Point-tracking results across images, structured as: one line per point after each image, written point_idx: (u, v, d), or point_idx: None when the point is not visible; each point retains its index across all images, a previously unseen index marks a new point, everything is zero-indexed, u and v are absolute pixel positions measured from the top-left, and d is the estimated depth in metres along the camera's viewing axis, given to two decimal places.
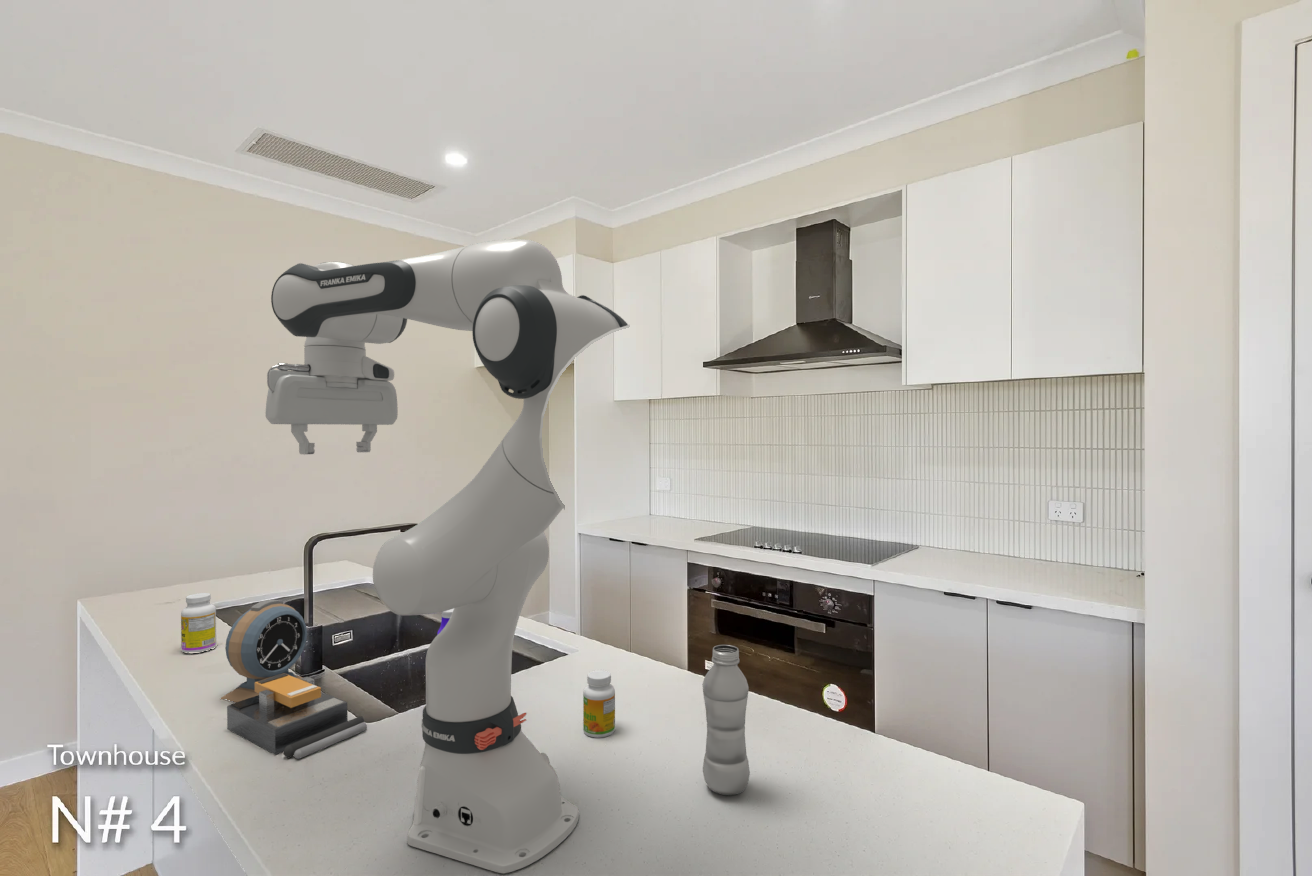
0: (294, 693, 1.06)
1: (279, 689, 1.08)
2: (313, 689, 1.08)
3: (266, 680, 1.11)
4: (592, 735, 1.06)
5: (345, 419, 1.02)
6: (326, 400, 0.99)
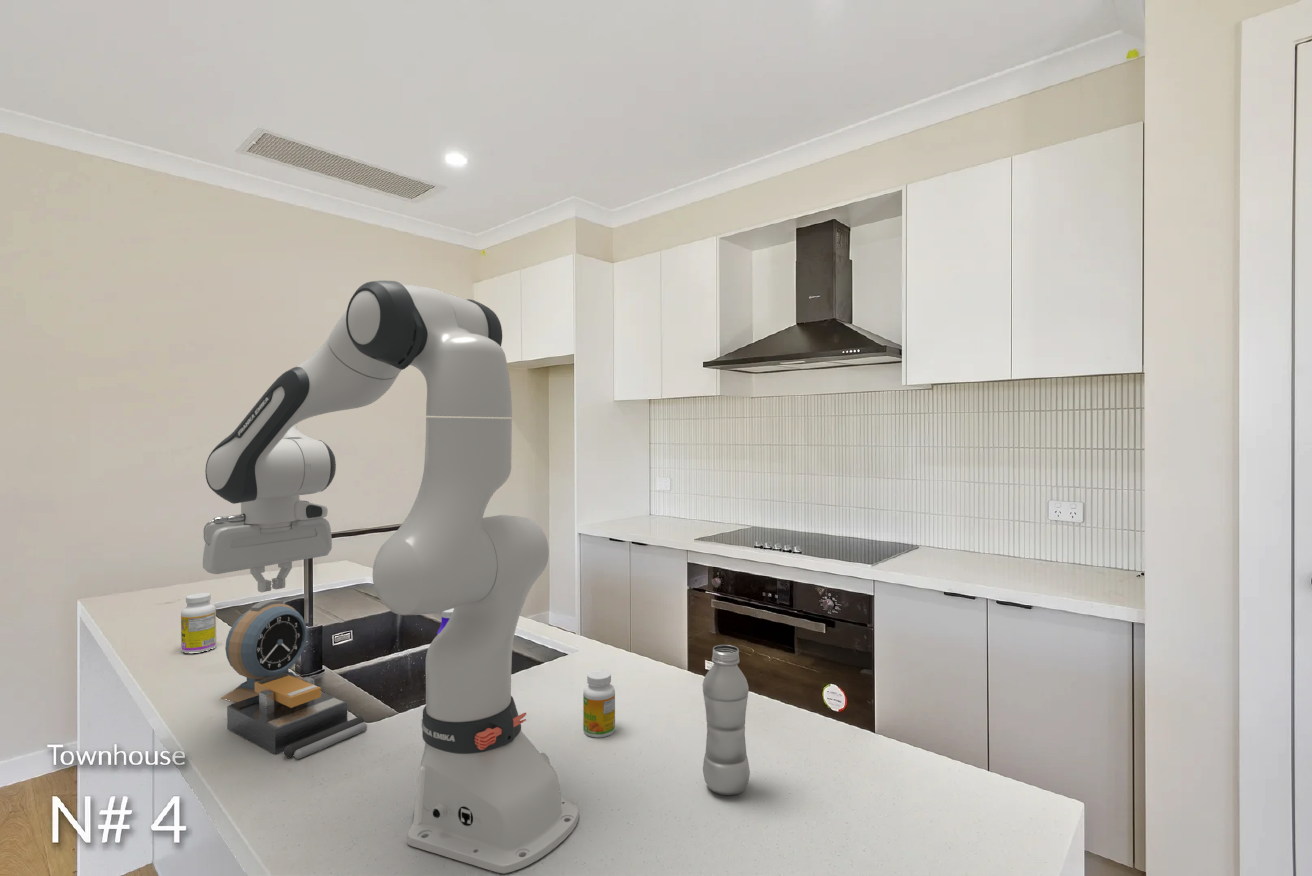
0: (294, 693, 1.06)
1: (279, 689, 1.08)
2: (313, 689, 1.08)
3: (266, 680, 1.11)
4: (592, 735, 1.06)
5: (279, 559, 1.12)
6: (260, 545, 1.09)
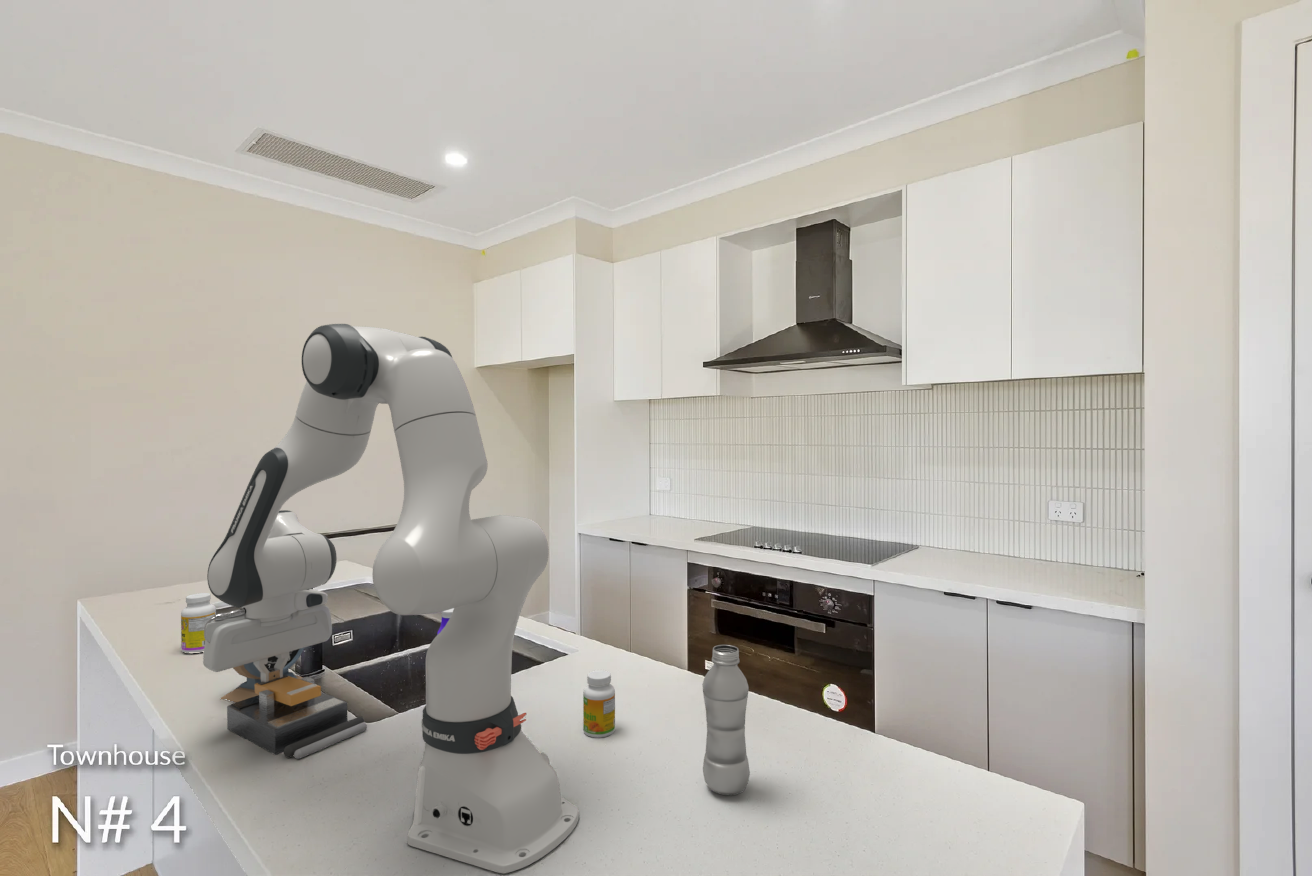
0: (294, 692, 1.06)
1: (279, 689, 1.08)
2: (313, 687, 1.08)
3: None
4: (592, 735, 1.06)
5: (279, 650, 1.12)
6: (261, 639, 1.09)
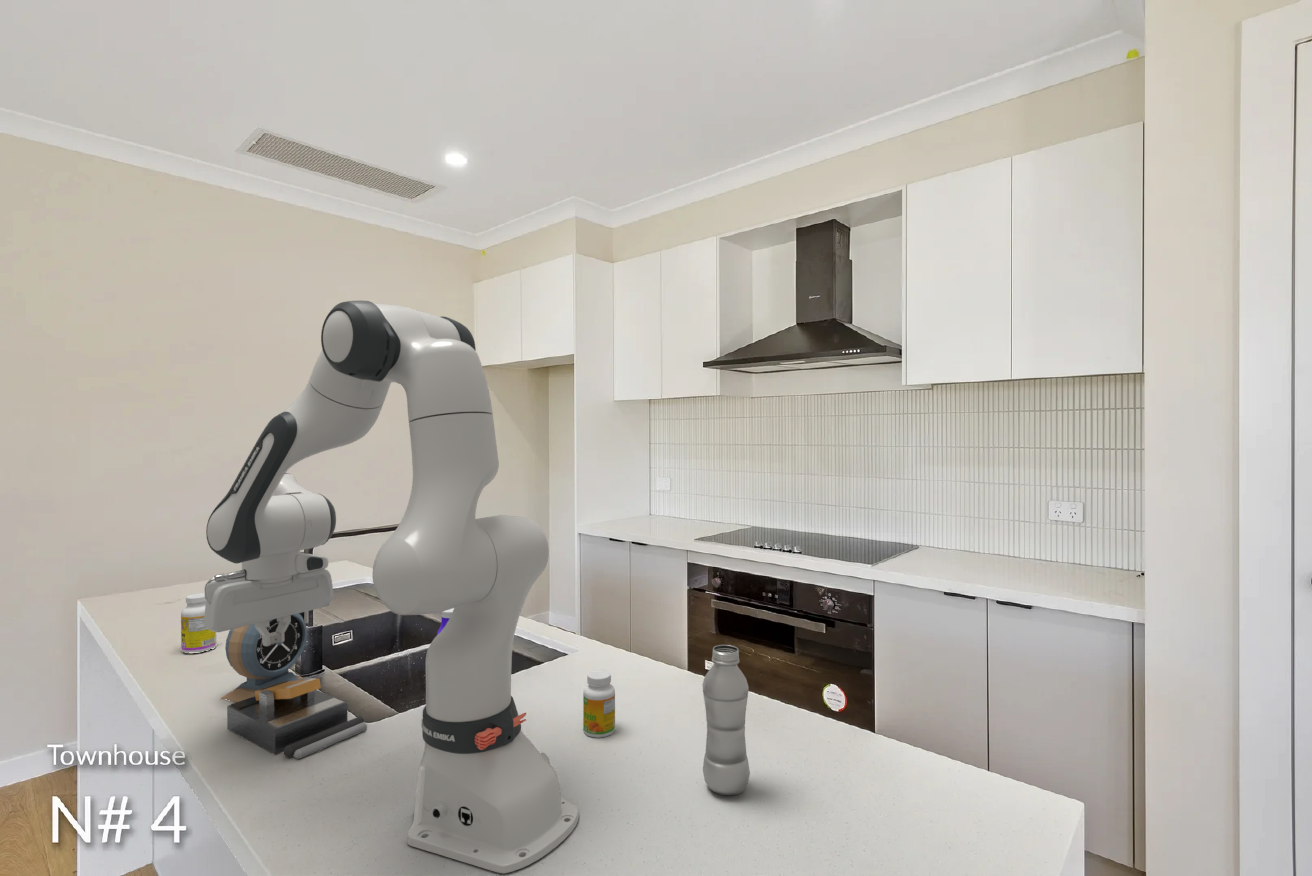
0: (293, 685, 1.06)
1: (278, 688, 1.08)
2: (312, 680, 1.08)
3: (266, 687, 1.11)
4: (592, 735, 1.06)
5: (281, 613, 1.12)
6: (261, 600, 1.09)
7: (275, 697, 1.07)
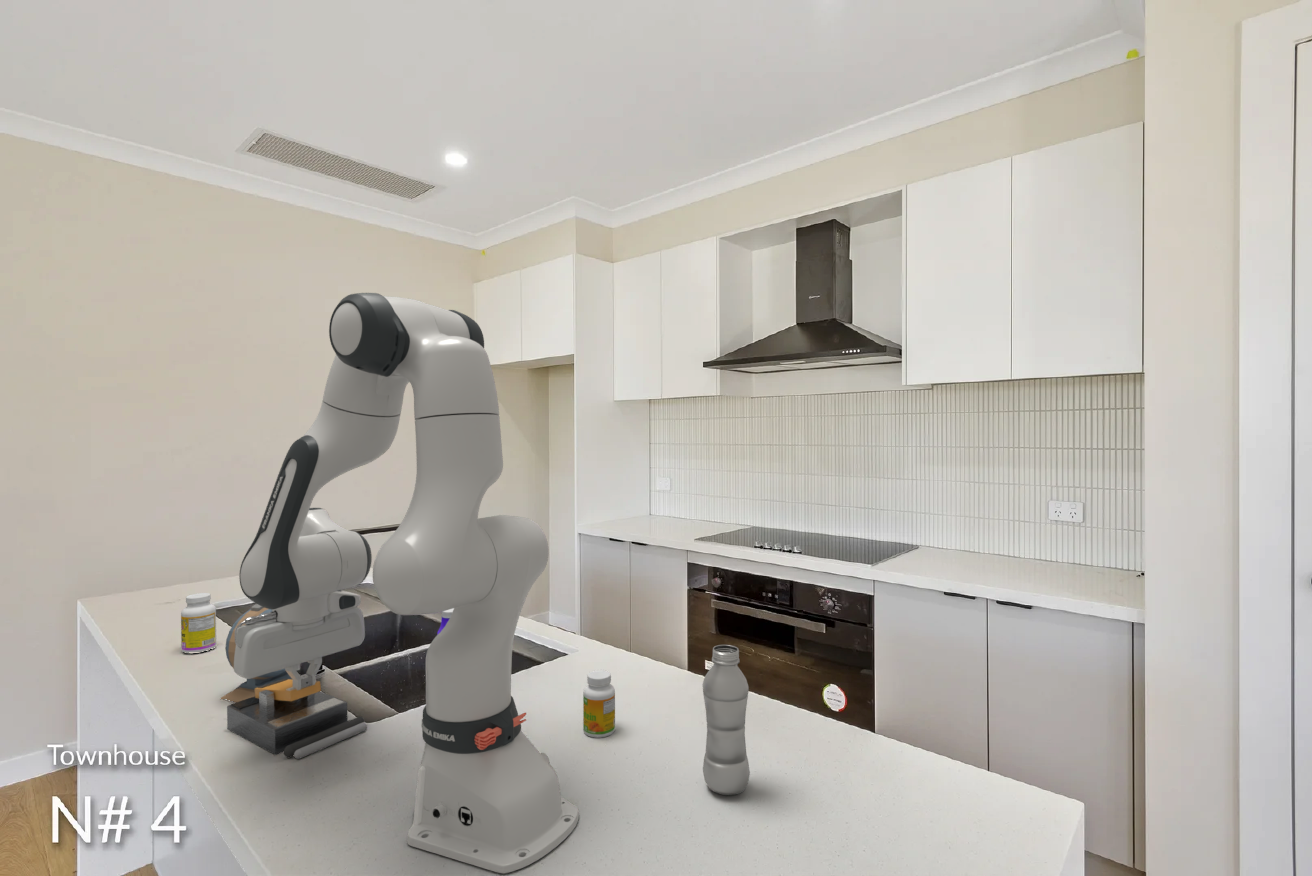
0: None
1: (278, 688, 1.08)
2: None
3: (266, 685, 1.11)
4: (592, 735, 1.06)
5: (312, 655, 1.06)
6: (293, 643, 1.04)
7: (275, 697, 1.07)
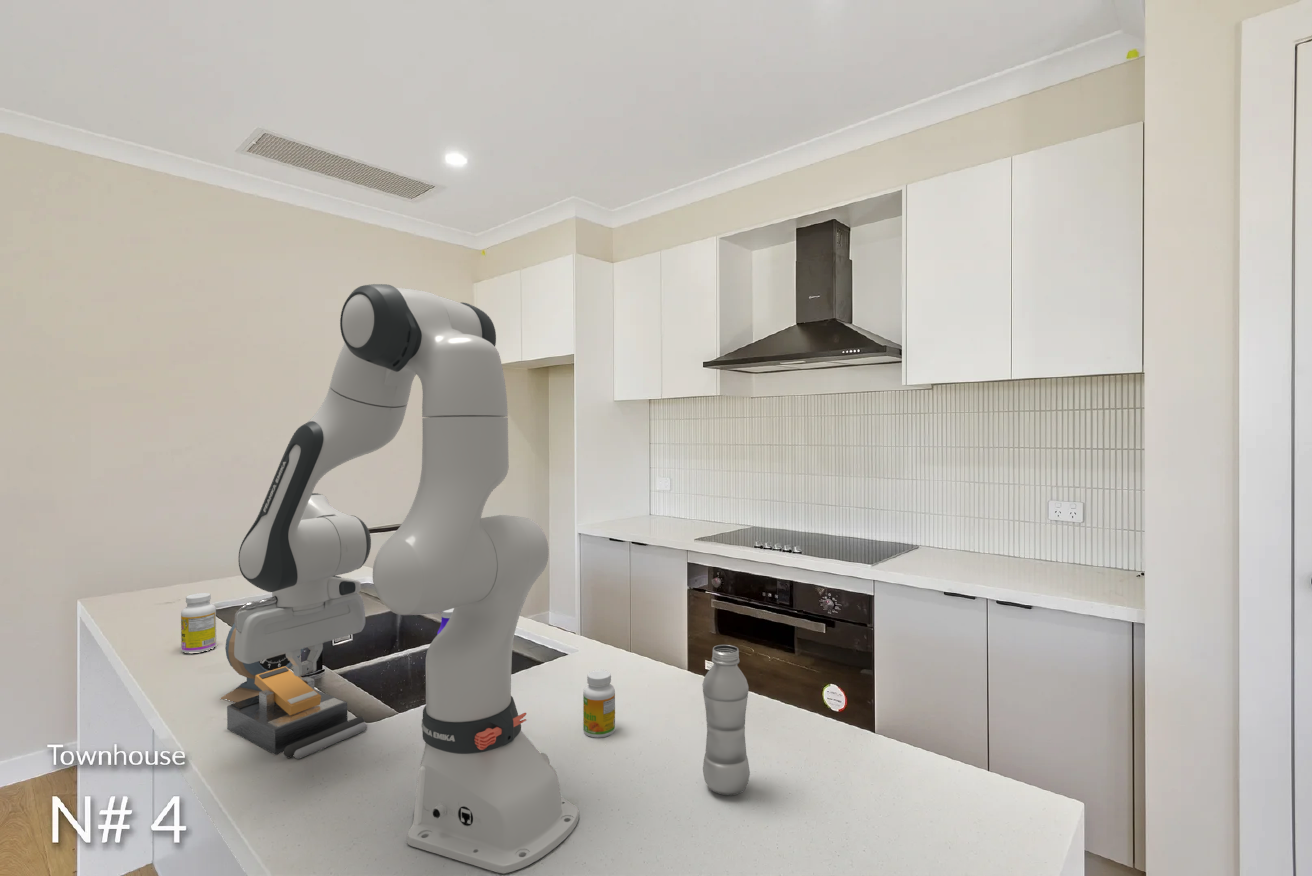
0: (294, 700, 1.06)
1: (279, 691, 1.08)
2: (313, 696, 1.08)
3: (267, 675, 1.11)
4: (592, 735, 1.06)
5: (313, 641, 1.06)
6: (293, 628, 1.04)
7: (274, 700, 1.07)
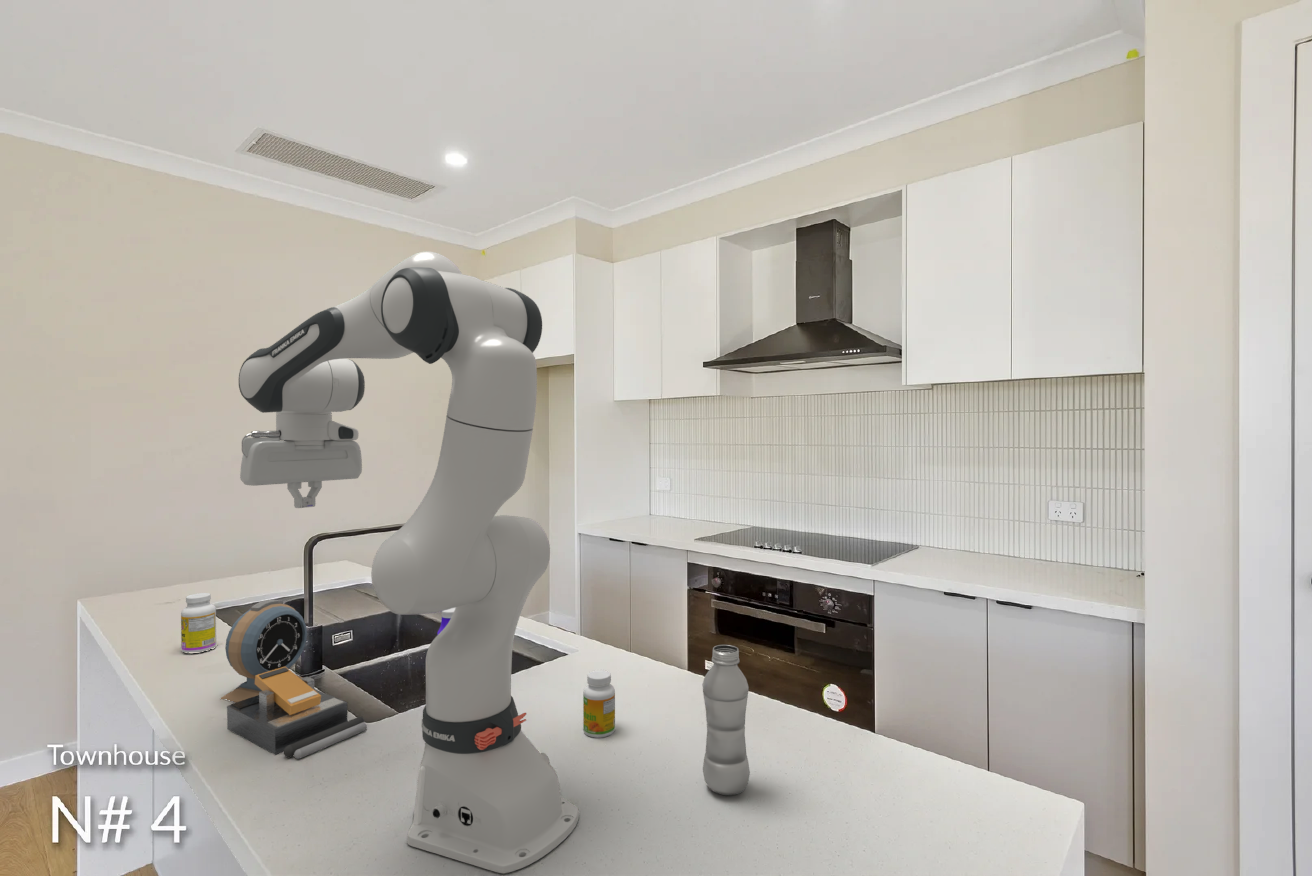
0: (294, 700, 1.06)
1: (279, 691, 1.08)
2: (313, 696, 1.08)
3: (267, 675, 1.11)
4: (592, 735, 1.06)
5: (312, 477, 1.15)
6: (295, 461, 1.12)
7: (274, 699, 1.07)
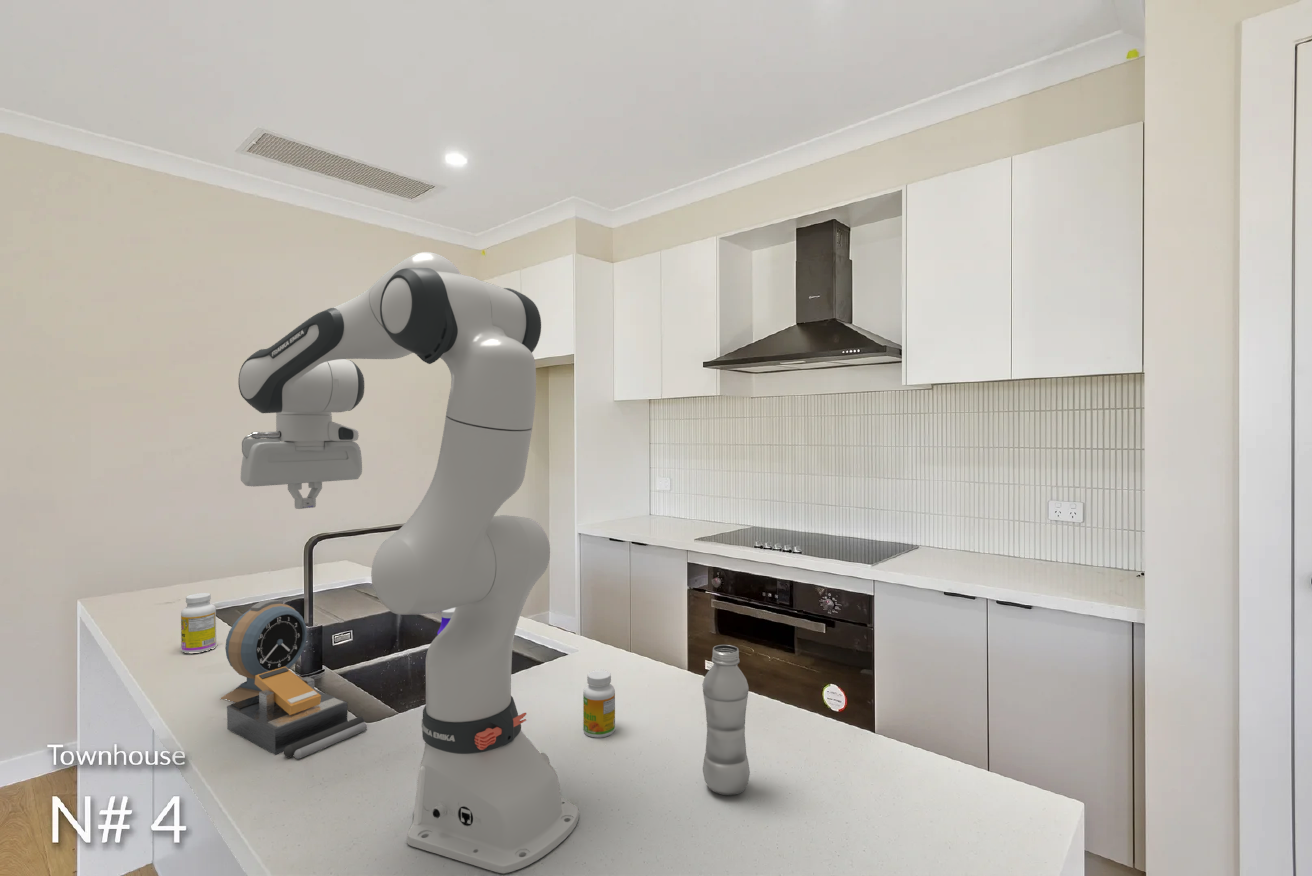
0: (294, 700, 1.06)
1: (279, 691, 1.08)
2: (313, 696, 1.08)
3: (267, 675, 1.11)
4: (592, 735, 1.06)
5: (313, 478, 1.15)
6: (295, 462, 1.12)
7: (274, 699, 1.07)
